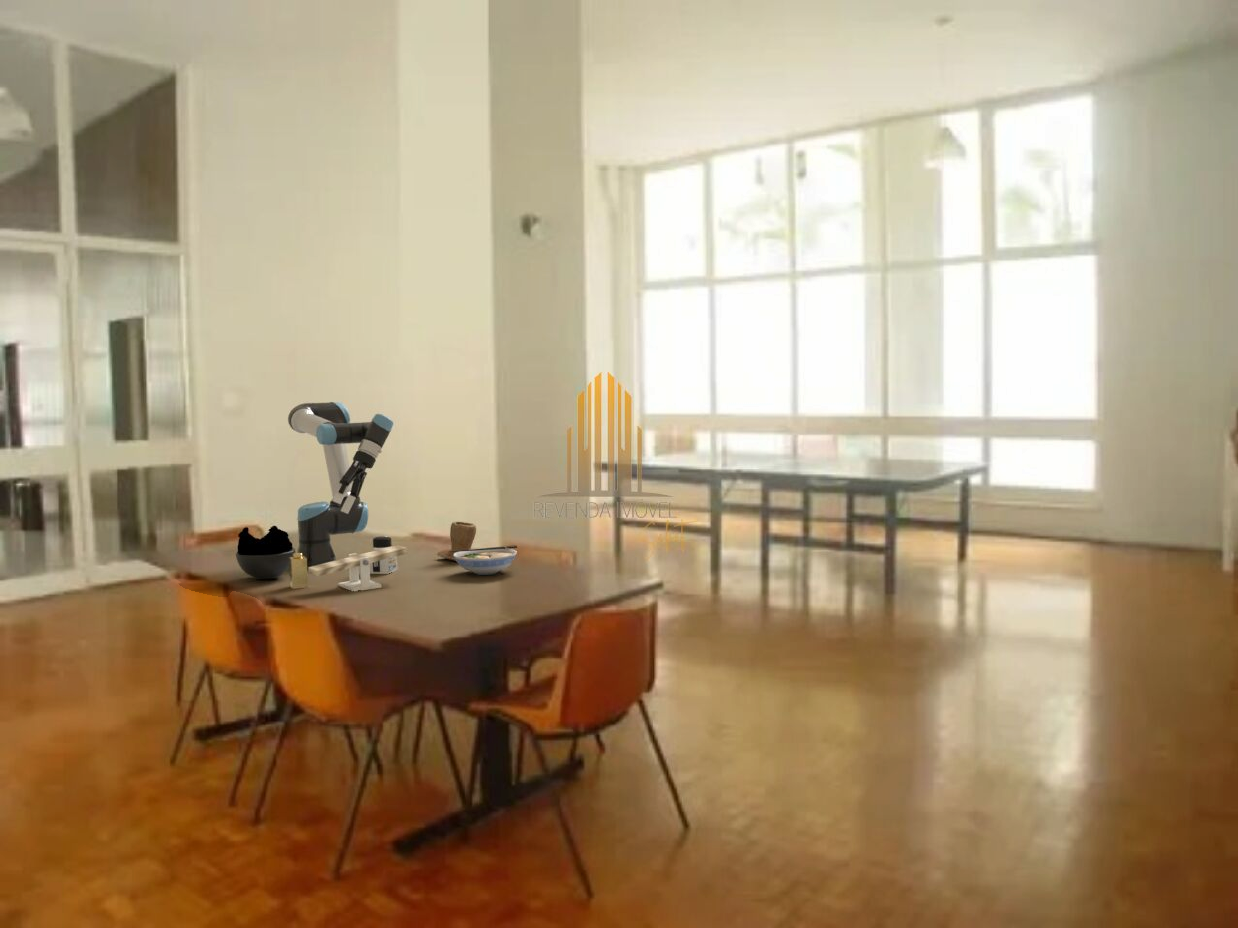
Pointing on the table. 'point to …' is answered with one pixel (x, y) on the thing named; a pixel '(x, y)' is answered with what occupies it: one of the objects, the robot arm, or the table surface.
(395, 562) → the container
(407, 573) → the table surface
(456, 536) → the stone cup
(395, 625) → the table surface
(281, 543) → the coal bowl
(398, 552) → the balance beam
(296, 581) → the brass weight
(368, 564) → the beam stand
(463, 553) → the ramen bowl
